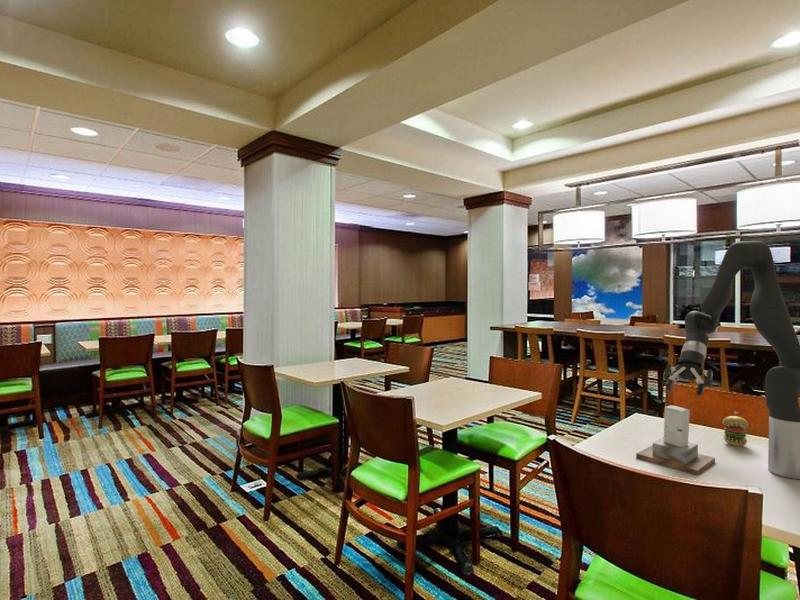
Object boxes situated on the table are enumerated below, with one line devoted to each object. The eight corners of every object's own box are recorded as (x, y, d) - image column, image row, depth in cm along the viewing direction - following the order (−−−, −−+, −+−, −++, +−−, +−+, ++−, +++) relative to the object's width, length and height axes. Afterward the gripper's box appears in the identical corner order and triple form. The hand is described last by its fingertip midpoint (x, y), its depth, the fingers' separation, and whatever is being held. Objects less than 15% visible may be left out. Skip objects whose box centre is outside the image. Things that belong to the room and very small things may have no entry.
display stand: (714, 462, 146) (715, 445, 145) (697, 475, 136) (697, 457, 135) (656, 447, 160) (656, 432, 159) (636, 457, 150) (636, 441, 150)
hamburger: (723, 445, 160) (724, 413, 160) (720, 439, 167) (720, 408, 166) (750, 449, 157) (751, 415, 157) (745, 443, 163) (746, 410, 163)
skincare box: (663, 442, 149) (663, 406, 149) (670, 439, 151) (671, 404, 151) (682, 447, 144) (682, 410, 143) (689, 445, 146) (690, 409, 145)
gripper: (668, 347, 164) (658, 383, 157) (714, 351, 154) (706, 389, 147) (672, 360, 168) (663, 395, 161) (718, 364, 158) (710, 402, 150)
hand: (683, 392), depth 154 cm, fingers open, 8 cm apart
